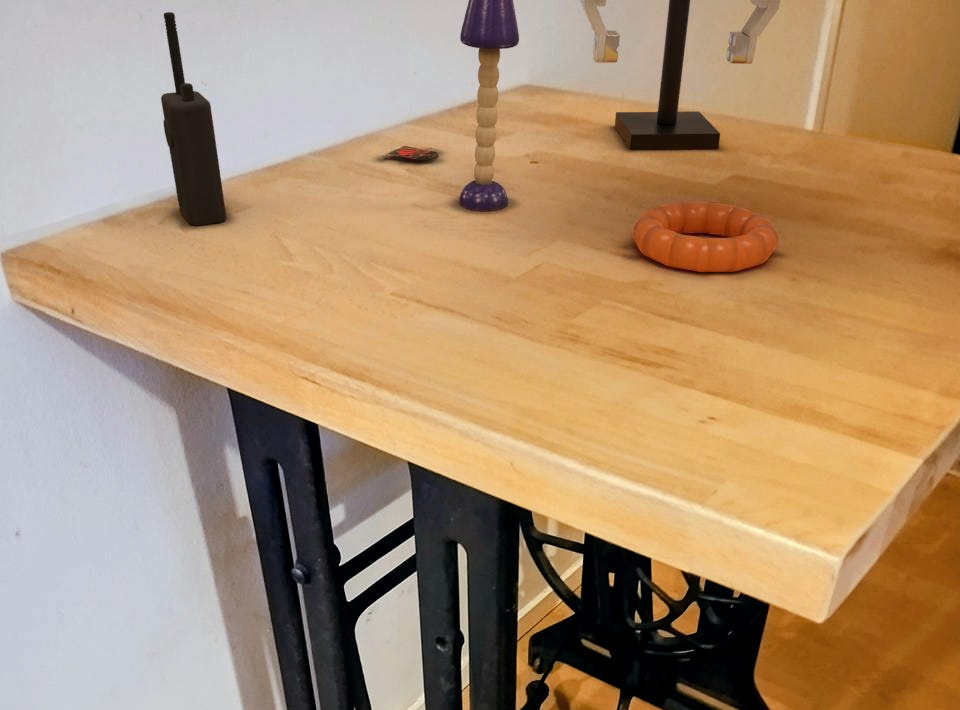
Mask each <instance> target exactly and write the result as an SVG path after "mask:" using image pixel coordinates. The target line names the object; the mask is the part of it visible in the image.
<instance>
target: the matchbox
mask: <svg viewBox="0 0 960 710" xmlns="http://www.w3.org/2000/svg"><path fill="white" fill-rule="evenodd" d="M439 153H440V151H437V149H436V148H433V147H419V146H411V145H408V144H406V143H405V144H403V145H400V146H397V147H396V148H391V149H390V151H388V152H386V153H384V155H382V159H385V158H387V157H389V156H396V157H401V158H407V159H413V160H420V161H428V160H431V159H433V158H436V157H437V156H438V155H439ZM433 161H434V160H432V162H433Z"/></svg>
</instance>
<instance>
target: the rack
mask: <svg viewBox="0 0 960 710" xmlns="http://www.w3.org/2000/svg"><path fill="white" fill-rule="evenodd" d="M690 7H691V0H669V1H668V9H667V19H666V27H665V36H664V37H665V39H664V47H663V49H664V50H663V58H662V68H661V78H660V88H659V95H658V96H659V97H658V106H657V111H616V112H615V120H614V128H615V130H616V131H617V132H618V134H619V135H620V137H621V138H622V140H623V142H624V143H625V145H626V146H627V148H628V149H629V150H630V151H641V150H642V151H643V150H646V151H648V150H649V151H651V150H653V151H655V150H656V151H657V150H658V151H659V150H718V149H719V147H720V138H721V132H720V131H719V130H718V129H717V128H716V127H715V126H714V125H713V124H712V123H711V122H710V121H709V120H708V119H707V118H706V117H705V116H704V115H703V114H702V113H701V112H700V111H699V110H698V111H679V105H680V104H679V103H680V95H681V86H682V78H683V68H684V60H685V50H686V42H687V33H688V32H687V31H688V25H689V24H688V23H689V15H690Z"/></svg>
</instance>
